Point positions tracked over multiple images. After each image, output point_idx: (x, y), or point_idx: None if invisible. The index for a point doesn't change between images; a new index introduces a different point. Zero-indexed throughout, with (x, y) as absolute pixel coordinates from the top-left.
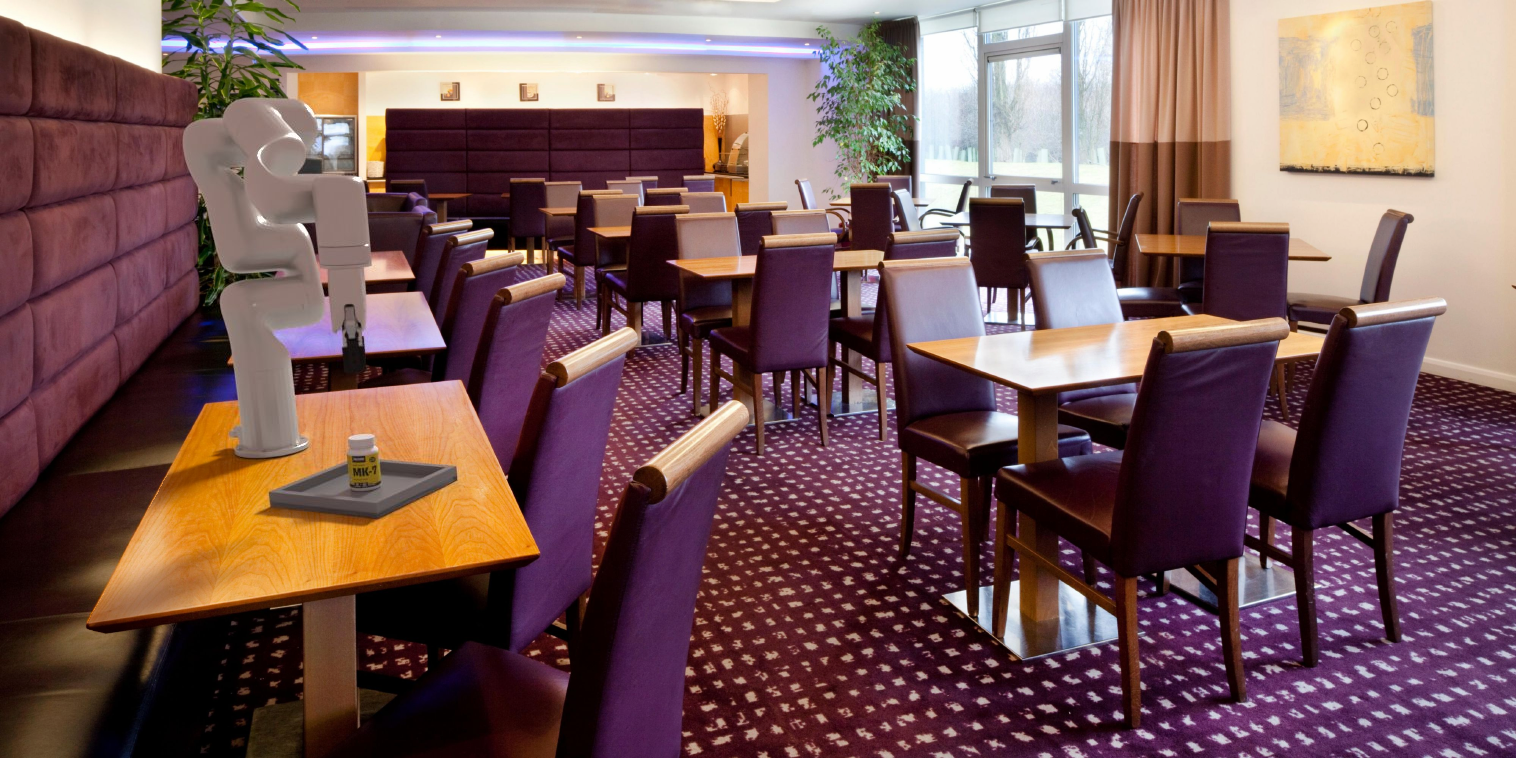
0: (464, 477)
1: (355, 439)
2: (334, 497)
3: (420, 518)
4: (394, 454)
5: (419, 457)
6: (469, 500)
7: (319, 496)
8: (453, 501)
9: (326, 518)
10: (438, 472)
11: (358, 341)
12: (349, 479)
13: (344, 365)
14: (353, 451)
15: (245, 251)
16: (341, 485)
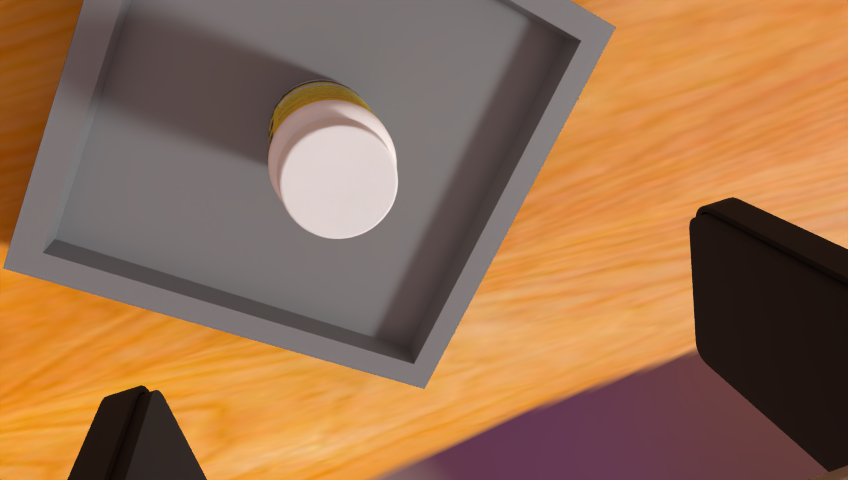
0: (437, 374)
1: (287, 173)
2: (69, 95)
3: (33, 367)
4: (749, 101)
5: (686, 192)
6: (209, 444)
7: (82, 29)
8: (202, 408)
9: (19, 69)
10: (358, 359)
11: (833, 437)
12: (295, 91)
13: (87, 448)
14: (281, 147)
15: None
16: (362, 32)
